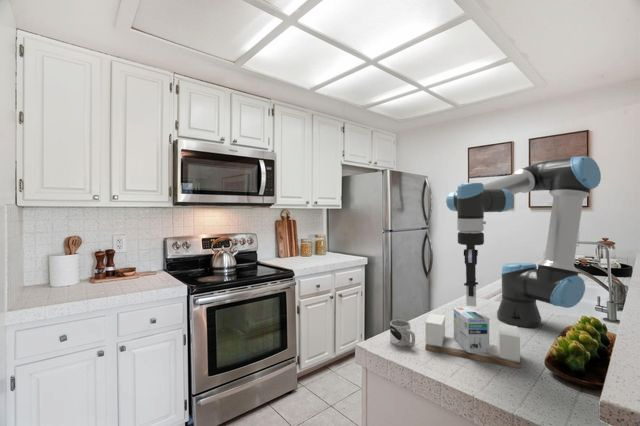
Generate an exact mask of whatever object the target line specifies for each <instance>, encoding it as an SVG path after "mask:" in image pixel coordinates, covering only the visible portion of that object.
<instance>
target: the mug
mask: <svg viewBox="0 0 640 426" xmlns="http://www.w3.org/2000/svg"><path fill="white" fill-rule="evenodd" d="M389 328H390V329H389V330H390V331H389V337H390V338H389V342H390V344H391V345H392V346H395V347H400V348H406V347H408V346H409V347H415V345H416V334H415V332H413V331H412V329H411V323H410V322H409V321H408V320H404V319H392V320H391V321H390V322H389Z"/></svg>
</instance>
